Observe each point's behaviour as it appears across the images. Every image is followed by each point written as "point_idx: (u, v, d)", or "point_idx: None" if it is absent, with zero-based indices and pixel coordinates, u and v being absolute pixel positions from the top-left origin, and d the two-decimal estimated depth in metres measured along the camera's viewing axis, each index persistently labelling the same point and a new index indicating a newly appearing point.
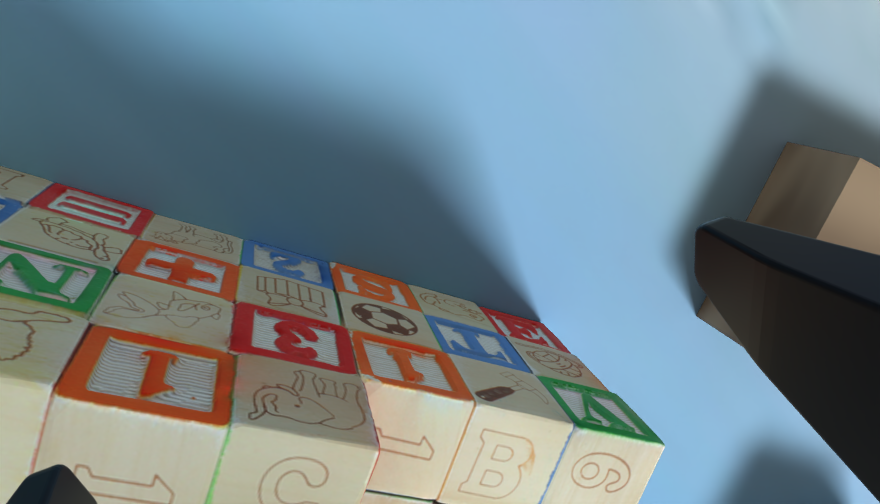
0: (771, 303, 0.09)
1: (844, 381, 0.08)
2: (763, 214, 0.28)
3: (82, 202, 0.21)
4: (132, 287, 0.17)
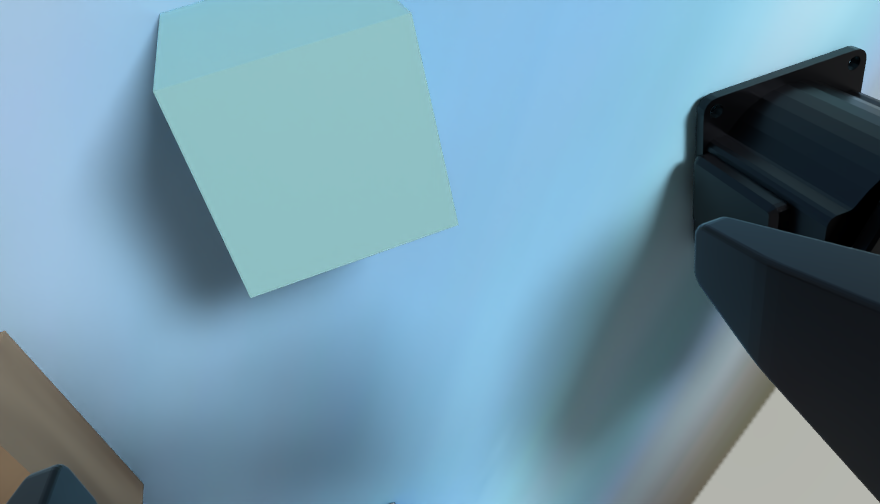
0: (771, 303, 0.09)
1: (844, 381, 0.08)
2: None
3: None
4: None
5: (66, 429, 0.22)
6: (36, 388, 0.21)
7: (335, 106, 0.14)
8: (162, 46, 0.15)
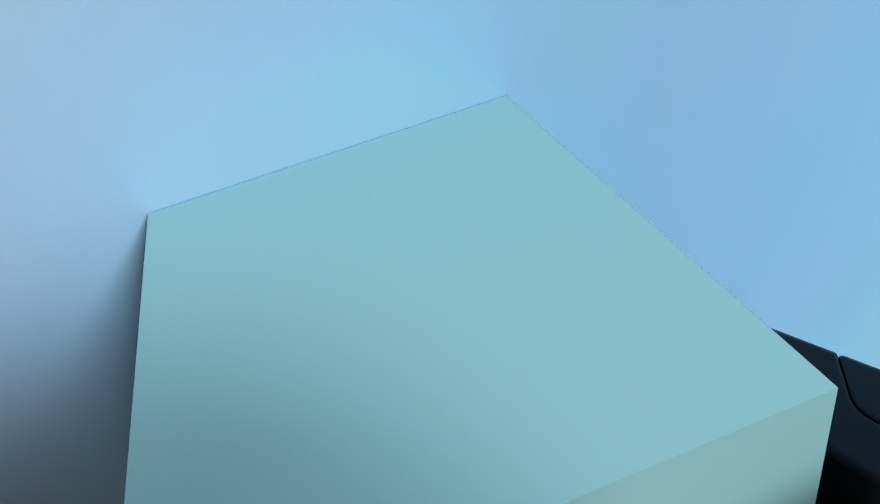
0: None
1: None
2: None
3: None
4: None
5: None
6: None
7: None
8: (147, 374, 0.06)
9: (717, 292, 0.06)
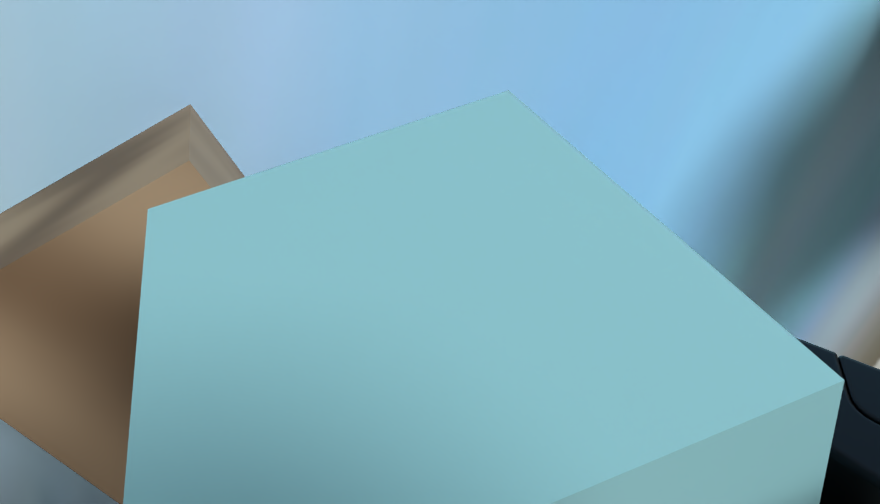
0: None
1: None
2: None
3: None
4: None
5: None
6: (230, 167, 0.19)
7: None
8: (148, 368, 0.06)
9: (722, 283, 0.06)
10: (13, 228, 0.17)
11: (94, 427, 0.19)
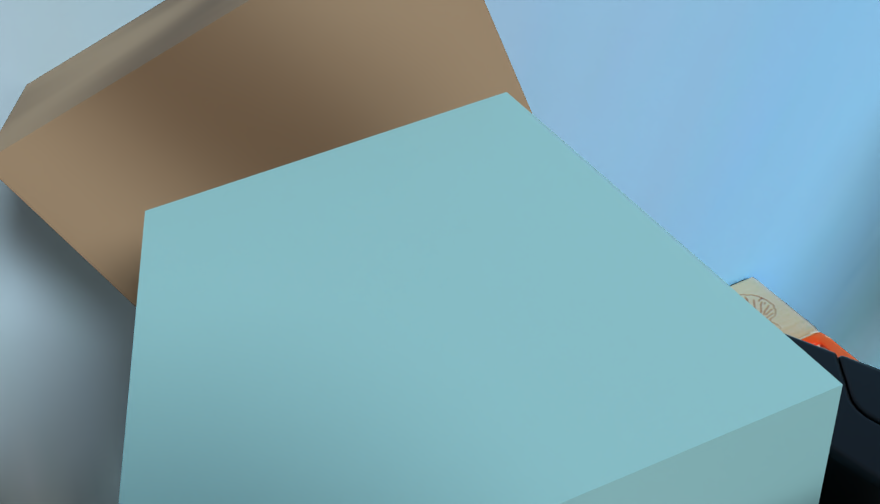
0: None
1: None
2: None
3: None
4: None
5: None
6: None
7: None
8: (145, 372, 0.06)
9: (720, 287, 0.06)
10: (149, 28, 0.12)
11: None
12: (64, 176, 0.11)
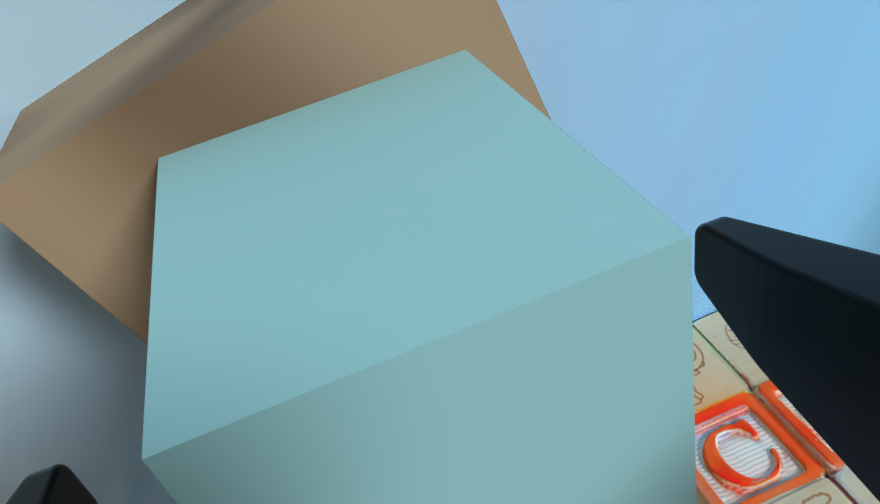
0: (771, 303, 0.09)
1: (844, 381, 0.08)
2: None
3: None
4: None
5: None
6: None
7: (519, 417, 0.07)
8: (163, 268, 0.08)
9: (613, 181, 0.07)
10: (147, 49, 0.11)
11: None
12: (62, 211, 0.10)
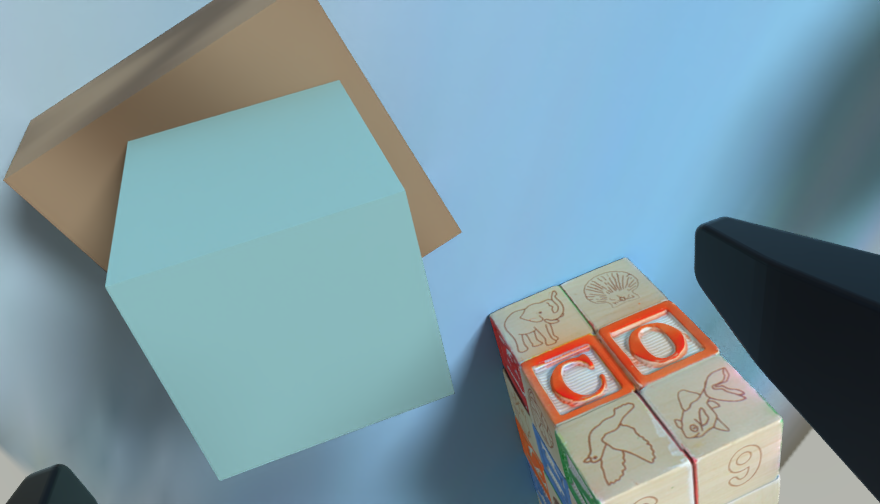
0: (771, 303, 0.09)
1: (844, 381, 0.08)
2: None
3: None
4: None
5: None
6: None
7: (317, 288, 0.12)
8: (124, 204, 0.13)
9: (383, 162, 0.13)
10: (117, 79, 0.17)
11: None
12: (59, 188, 0.16)
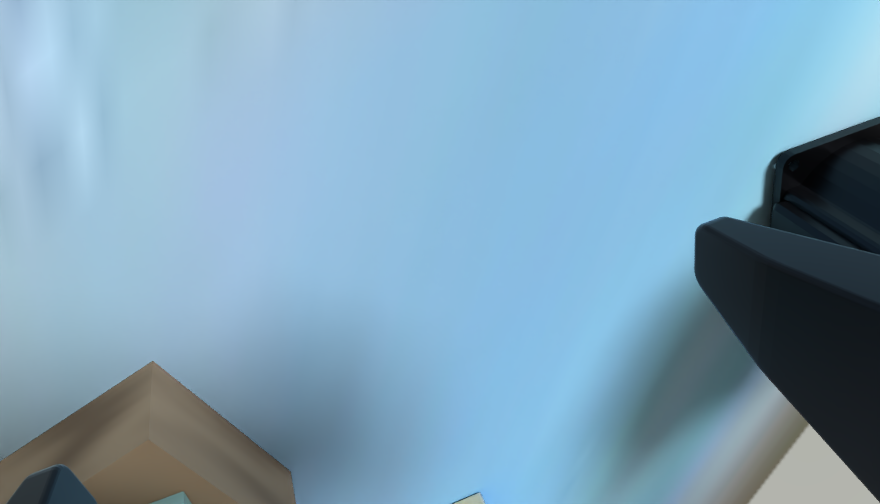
0: (771, 303, 0.09)
1: (844, 381, 0.08)
2: None
3: None
4: None
5: (219, 434, 0.25)
6: (188, 403, 0.24)
7: None
8: None
9: None
10: (22, 477, 0.23)
11: None
12: None
